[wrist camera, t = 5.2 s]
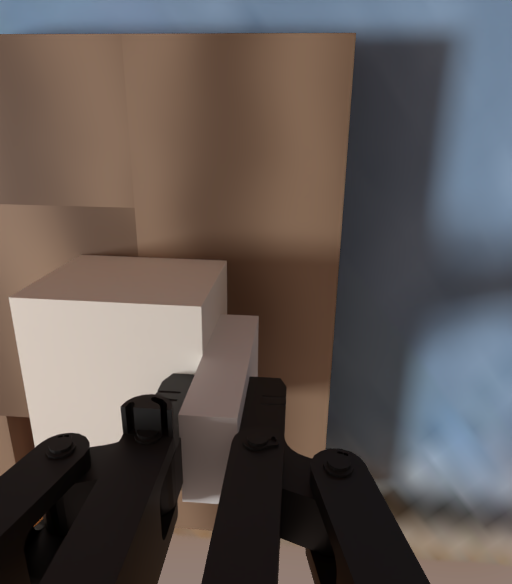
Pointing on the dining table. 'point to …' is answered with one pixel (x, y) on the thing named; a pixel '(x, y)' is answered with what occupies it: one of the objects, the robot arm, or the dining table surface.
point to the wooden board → (182, 187)
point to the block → (111, 336)
